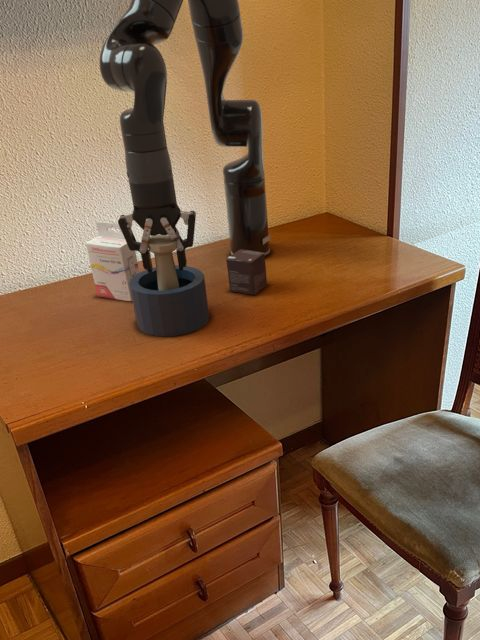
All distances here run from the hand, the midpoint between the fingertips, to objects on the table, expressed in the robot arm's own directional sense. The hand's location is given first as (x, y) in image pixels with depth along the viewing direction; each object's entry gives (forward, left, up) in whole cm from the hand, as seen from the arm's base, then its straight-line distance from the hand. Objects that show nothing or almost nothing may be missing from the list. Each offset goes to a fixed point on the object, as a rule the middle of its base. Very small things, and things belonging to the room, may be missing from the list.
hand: (165, 269), depth 123 cm
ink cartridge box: (-14, -12, -11) cm, 21 cm away
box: (-13, +15, -11) cm, 22 cm away
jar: (0, 0, -10) cm, 10 cm away
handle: (0, 0, -10) cm, 10 cm away
